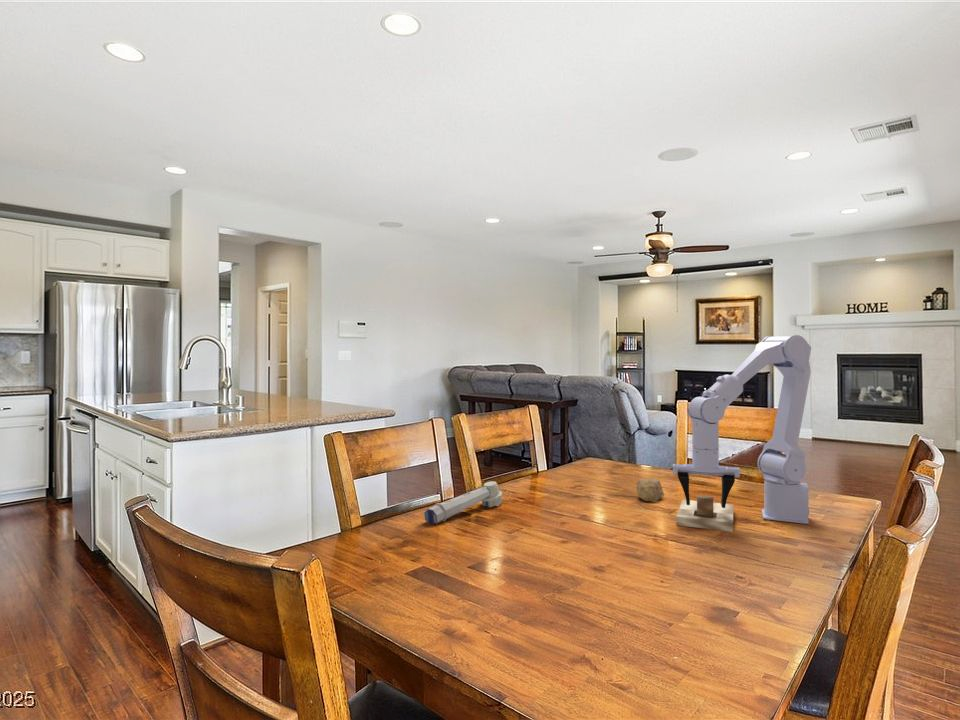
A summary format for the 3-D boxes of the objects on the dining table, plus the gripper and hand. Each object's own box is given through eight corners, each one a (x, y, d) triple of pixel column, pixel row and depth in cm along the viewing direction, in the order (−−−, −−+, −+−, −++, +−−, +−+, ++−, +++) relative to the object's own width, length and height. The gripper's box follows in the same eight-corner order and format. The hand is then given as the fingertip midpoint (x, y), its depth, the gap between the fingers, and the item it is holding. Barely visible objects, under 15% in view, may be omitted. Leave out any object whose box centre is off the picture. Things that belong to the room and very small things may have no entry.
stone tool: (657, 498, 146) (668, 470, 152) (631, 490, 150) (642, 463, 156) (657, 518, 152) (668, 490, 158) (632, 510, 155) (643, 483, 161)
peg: (713, 521, 132) (713, 496, 132) (714, 525, 129) (714, 500, 129) (696, 519, 134) (696, 494, 134) (697, 524, 130) (697, 498, 130)
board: (733, 512, 139) (733, 504, 139) (732, 531, 125) (732, 523, 125) (682, 507, 144) (682, 499, 144) (676, 524, 130) (676, 516, 130)
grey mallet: (421, 506, 133) (490, 474, 151) (424, 533, 133) (492, 498, 152) (436, 510, 129) (504, 477, 147) (439, 538, 130) (507, 501, 148)
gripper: (737, 446, 132) (737, 503, 133) (672, 443, 137) (672, 498, 137) (740, 451, 126) (740, 511, 126) (672, 448, 130) (673, 506, 131)
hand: (705, 505), depth 131 cm, fingers open, 7 cm apart
